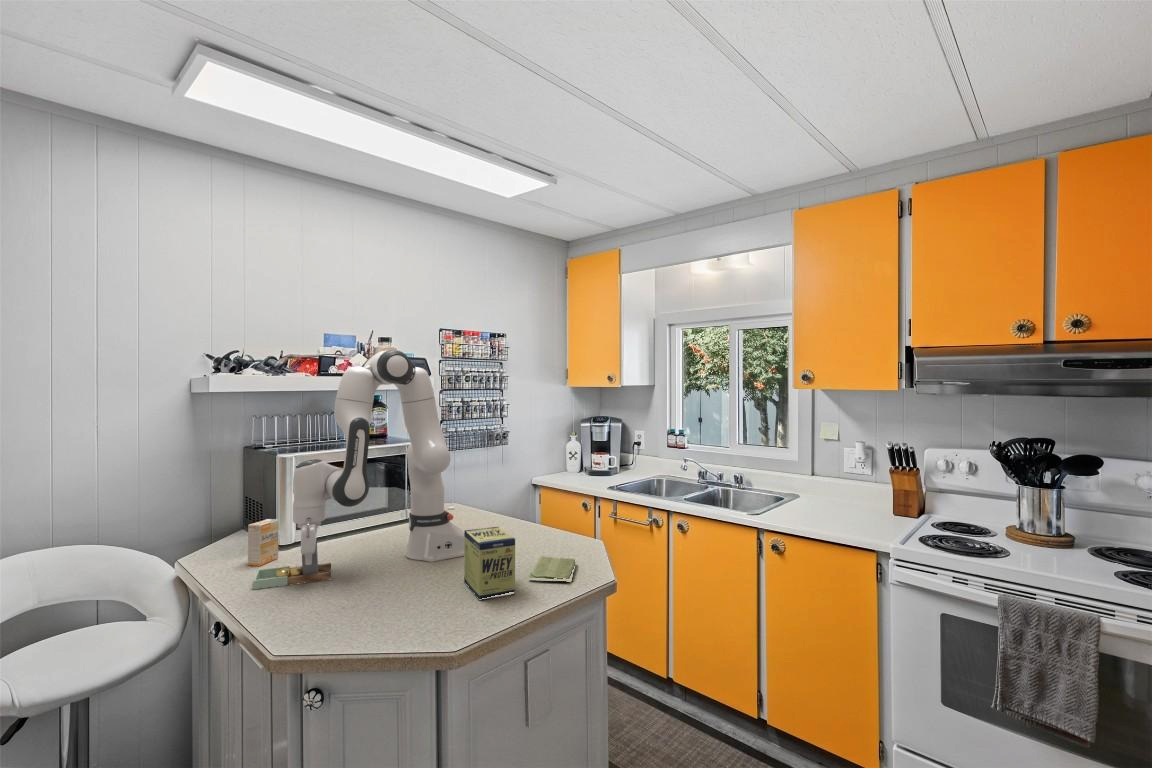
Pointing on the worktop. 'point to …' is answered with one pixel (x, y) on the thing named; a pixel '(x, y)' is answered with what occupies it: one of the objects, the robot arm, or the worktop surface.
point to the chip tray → (270, 581)
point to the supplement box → (263, 542)
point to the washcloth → (553, 568)
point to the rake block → (314, 566)
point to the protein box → (489, 561)
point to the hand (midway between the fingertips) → (308, 560)
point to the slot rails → (312, 575)
